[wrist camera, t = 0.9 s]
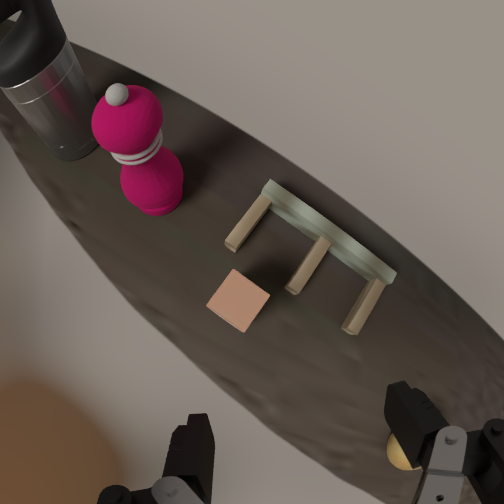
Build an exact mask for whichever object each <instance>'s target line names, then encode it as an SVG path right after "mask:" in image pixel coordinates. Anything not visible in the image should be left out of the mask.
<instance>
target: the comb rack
mask: <svg viewBox="0 0 504 504" xmlns="http://www.w3.org/2000/svg"><path fill="white" fill-rule="evenodd" d="M268 209H270V210H272V211H273V212H275V213H276V214H277V215H279V216H280V217H282V218H283V219H284V220H286V221H287V222H289V223H290V224H292V225H293V226H294V227H296V228H297V229H298V230H300V231H301V232H303V233H304V234H305V235H307V236H308V237H310V238H311V239H312V240H314V241H315V242H314V244H313V245H312V247H311V248H310V250H309V251H308V253H307V254H306V256H305V257H304V259H303V260H302V262H301V263H300V265H299V266H298V268H297V269H296V271H295V272H294V274H293V275H292V277H291V278H290V279H289V281H288V282H287V284H286V285H285V287H284V289H286V290H287V291H289V292H290V293H291V294H293V295H296V294H299V293H300V291H301V290H302V288H303V287H304V285H305V284H306V282H307V281H308V279H309V278H310V276H311V275H312V273H313V272H314V270H315V269H316V267H317V265H318V264H319V262H320V261H321V259H322V258H323V256H324V255H325V253H326V251H329V252H330V253H331V254H333V255H334V256H335V257H337V258H338V259H340V260H341V261H342V262H344V263H345V264H346V265H348V266H349V267H350V268H352V269H353V270H354V271H356V272H357V273H358V274H359V275H361V276H362V277H363V278H365V279H366V280H367V281H368V282H367V283H366V285H365V287H364V289H363V290H362V292H361V294H360V295H359V297H358V299H357V301H356V302H355V304H354V306H353V307H352V309H351V311H350V312H349V314H348V316H347V317H346V319H345V320H344V322H343V324H342V325H341V327H340V328H341V329H342V330H344V331H345V332H347V333H348V334H352V335H358V333H359V331H360V330H361V328H362V326H363V325H364V323H365V321H366V320H367V318H368V316H369V314H370V313H371V311H372V309H373V307H374V306H375V304H376V302H377V300H378V298H379V297H380V295H381V293H382V291H383V289H384V287H385V286H386V285H388V284H392V282H393V280H394V278H395V276H396V274H397V273H396V272H395V271H394V270H393V269H391V268H390V267H389V266H388V265H386V264H385V263H384V262H383V261H381V260H380V259H379V258H378V257H376V256H375V255H374V254H372V253H371V252H370V251H369V250H367V249H366V248H365V247H363V246H362V245H361V244H360V243H358V242H357V241H356V240H354V239H353V238H352V237H350V236H349V235H348V234H346V233H345V232H344V231H342V230H341V229H340V228H338V227H337V226H336V225H334V224H333V223H332V222H330V221H329V220H328V219H326V218H325V217H323V216H322V215H321V214H319V213H318V212H317V211H315V210H314V209H312V208H311V207H310V206H308V205H307V204H305V203H304V202H303V201H301V200H300V199H298V198H297V197H296V196H294V195H293V194H291V193H290V192H288V191H287V190H285V189H284V188H283V187H281V186H280V185H278V184H277V183H275V182H274V181H272V180H271V179H270V180H269V181H268V183H267V184H266V185H265V186H264V188H263V189H262V193H261V194H260V196H259V197H258V198H257V200H256V201H255V202H254V203H253V205H252V206H251V207H250V209H249V210H248V211H247V212H246V214H245V215H244V216H243V218H242V219H241V220H240V222H239V223H238V224H237V225H236V227H235V228H234V229H233V231H232V232H231V233H230V235H229V236H228V237H227V238H226V240H225V246H226V247H227V248H229V249H230V250H231V251H233V252H234V253H236V251H237V250H238V248H239V247H240V246H241V244H242V243H243V242H244V240H245V239H246V238H247V236H248V235H249V234H250V232H251V231H252V230H253V228H254V227H255V226H256V224H257V223H258V222H259V220H260V219H261V218H262V217H263V215H264V214H265V213H266V211H267V210H268Z"/></svg>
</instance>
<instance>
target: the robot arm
mask: <svg viewBox="0 0 504 504" xmlns="http://www.w3.org/2000/svg"><path fill="white" fill-rule="evenodd" d="M20 10H21V11H22V12H21V14H20V16H19V18H18V19H17V21H16V23H15V24H14V26H13V27H12V28H11V29H10V31H9V32H8V33H7V34H6V36H5V37H4V38H3V39H2V41H1V42H0V88H1V89H2V90H3V92H4V93H5V94H6V96H7V97H8V98H9V99H10V101H11V102H12V103H13V104H14V106H15V107H16V108H17V109H18V111H19V112H20V113H21V114H22V116H23V117H24V118H25V119H26V121H27V122H28V123H29V124H30V126H31V127H32V128H33V129H34V130H35V132H36V133H37V134H38V135H39V136H40V138H41V139H42V140H43V141H44V142H45V144H46V145H47V146H48V147H49V148H50V149H51V151H52V152H53V153H54V154H55V155H56V156H57V157H58V158H60V159H62V160H66V161H71V160H76V159H80V158H82V157H84V156H86V155H87V154H89V153H90V152H91V151H92V150H94V149H95V148H96V147H97V145H98V144H99V143H98V142H97V140H96V138H95V136H94V134H93V131H92V123H91V122H92V115H93V112H94V109H95V107H96V105H97V104H98V103H97V101H96V99H95V97H94V95H93V93H92V91H91V89H90V87H89V84H88V82H87V80H86V78H85V76H84V74H83V72H82V69H81V67H80V65H79V63H78V61H77V58H76V56H75V54H74V52H73V50H72V48H71V45H70V43H69V41H68V38H67V36H66V34H65V32H64V29H63V27H62V25H61V23H60V20H59V19H58V16H57V14H56V11H55V9H54V6H53V4H52V1H51V0H0V23H2V22H3V21H5V20H6V19H7V18H9V17H10V16H12V15H13V14H15V13H16V12H18V11H20ZM384 415H385V419H386V422H387V423H388V425H389V427H390V429H391V431H392V432H393V434H394V436H395V438H396V440H397V441H398V443H399V445H400V447H401V449H402V450H403V452H404V454H405V456H406V458H407V460H408V461H409V463H410V465H411V467H412V469H415V468H418V467H420V466H421V467H422V469H423V472H422V475H421V478H420V481H419V484H418V487H417V490H416V492H415V495H414V498H413V501H412V503H411V504H458V501H459V497H460V493H461V489H462V484H463V479H464V476H467V478H468V479H469V481H470V483H471V485H472V486H473V488H474V490H475V492H476V494H477V496H478V497H479V499H480V501H481V503H482V504H504V420H502V419H491V420H489V421H487V422H486V423H485V425H484V427H483V429H482V430H476V431H471V432H465V431H464V430H463V429H462V428H460V427H457V426H450V425H449V424H448V422H447V421H446V420H445V418H444V417H443V416H442V415H441V413H440V412H439V411H438V409H437V408H436V407H434V404H433V403H432V402H431V401H430V399H429V398H428V397H427V395H426V394H425V393H424V392H422V391H420V390H419V389H417V388H414V389H411V388H410V387H409V385H408V384H407V383H406V382H405V381H400V382H397V383H393V384H389V385H388V387H387V393H386V400H385V407H384ZM214 454H215V441H214V436H213V432H212V429H211V426H210V422H209V419H208V415H207V414H206V413H202V414H189V416H188V421H187V425H179V426H178V427H177V428H176V429H175V431H174V432H173V433H172V437H171V441H170V445H169V451H168V454H167V458H166V463H165V467H164V471H163V475H162V478H161V479H159V480H157V481H156V482H155V483H154V484H153V486H152V487H151V488H148V489H143V490H137V491H131V492H130V491H129V490H128V489H127V488H126V487H124V486H121V485H112V486H109V487H106V488H105V489H103V490H102V492H101V493H100V495H99V498H98V502H97V504H211V495H212V481H213V467H214Z"/></svg>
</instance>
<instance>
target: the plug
mask: <svg viewBox="0 0 504 504" xmlns="http://www.w3.org/2000/svg"><path fill="white" fill-rule="evenodd" d="M269 297H270V295H269V294H268V293H266V292H265V291H264V290H262V289H261V288H259V287H258V286H257V285H255V284H254V283H252V282H251V281H250V280H248V279H247V278H246V277H244V276H243V275H241V274H240V273H239V272H237V271H236V270H234V269H233V270H232V271H231V272H230V274H229V275H228V276H227V278H226V279H225V281H224V282H223V283H222V285H221V286H220V287H219V289H218V290H217V291H216V293H215V294H214V295H213V297H212V298H211V300H210V301H209V302H208V304H207V305H206V306H207V307H208V308H209V309H210V310H212V311H213V312H214V313H216V314H217V315H219V316H220V317H221V318H223V319H224V320H225V321H227V322H228V323H230V324H231V325H232V326H234V327H235V328H237V329H238V330H240V331H242V332H243V333H244V332H245V331H246V329H247V328H248V326H249V325H250V324H251V322H252V321H253V319H254V318H255V317H256V315H257V314H258V312H259V311H260V310H261V308H262V307H263V305H264V304H265V303H266V301H267V300H268V298H269Z"/></svg>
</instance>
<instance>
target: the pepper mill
mask: <svg viewBox="0 0 504 504" xmlns="http://www.w3.org/2000/svg"><path fill="white" fill-rule="evenodd" d="M162 121H163V115H162V109H161V105H160V102H159V101H158V99H157V98H156V96H155V95H154V94H153V93H152V92H151V91H150V90H148V89H146V88H144V87H141V86H137V85H126V86H125V85H123V84H120V83H116V84H113V85H111V86H110V87H109V88H108V89H107V91H106V94H105V95H104V96H103V97H102V98H101V100H100V101H99V102H98V104H97V105H96V107H95V109H94V112H93V115H92V122H91V123H92V131H93V134H94V136H95V138H96V140H97V142H98V143H99V144H100V145H101V147H103V148H104V149H105V150H107V151H109V152H111V154H112V156H113V157H114V158H115V160H117V161H118V162H119V163H122V164H123V165H122V170H121V174H120V175H121V186H122V190H123V192H124V194H125V196H126V197H127V199H128V200H129V201H130V202H131V203H132V204H134V205H135V206H137V207H139V209H140V210H141V211H142V212H144V213H146V214H148V215H152V216H161V215H165V214H167V213H169V212H171V211H172V210H174V209H175V208H176V207H177V206H178V204H179V203H180V201H181V199H182V194H183V186H182V184H183V177H184V174H183V169H182V166H181V164H180V162H179V160H178V158H177V157H176V156H175V155H174V154H173V153H172V152H171V151H170V150H169V149H167V148H165V147H163V146H162V145H161V144H162V138H163V136H162V131H161V125H162Z"/></svg>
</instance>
